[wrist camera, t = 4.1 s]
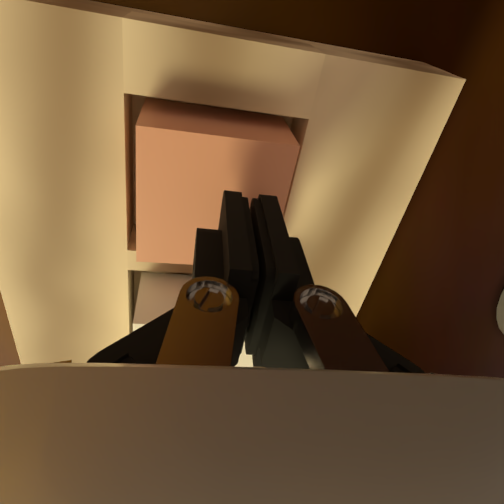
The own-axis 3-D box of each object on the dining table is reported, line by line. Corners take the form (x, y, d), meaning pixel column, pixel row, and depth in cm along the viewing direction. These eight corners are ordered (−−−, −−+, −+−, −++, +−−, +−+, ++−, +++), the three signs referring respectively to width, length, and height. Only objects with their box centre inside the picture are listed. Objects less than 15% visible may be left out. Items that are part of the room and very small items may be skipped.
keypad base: (422, 62, 15) (466, 79, 13) (287, 406, 29) (296, 445, 26) (-31, -23, 12) (-87, -20, 10) (60, 410, 26) (46, 455, 23)
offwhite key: (254, 278, 17) (263, 327, 15) (238, 349, 20) (243, 400, 18) (141, 272, 16) (132, 323, 14) (141, 348, 19) (133, 401, 17)
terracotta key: (282, 117, 14) (300, 146, 12) (258, 227, 17) (269, 269, 15) (145, 97, 13) (135, 125, 11) (144, 218, 16) (136, 261, 14)
